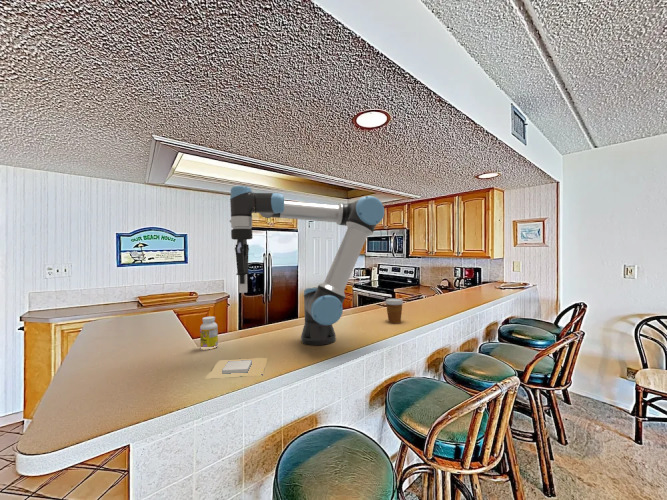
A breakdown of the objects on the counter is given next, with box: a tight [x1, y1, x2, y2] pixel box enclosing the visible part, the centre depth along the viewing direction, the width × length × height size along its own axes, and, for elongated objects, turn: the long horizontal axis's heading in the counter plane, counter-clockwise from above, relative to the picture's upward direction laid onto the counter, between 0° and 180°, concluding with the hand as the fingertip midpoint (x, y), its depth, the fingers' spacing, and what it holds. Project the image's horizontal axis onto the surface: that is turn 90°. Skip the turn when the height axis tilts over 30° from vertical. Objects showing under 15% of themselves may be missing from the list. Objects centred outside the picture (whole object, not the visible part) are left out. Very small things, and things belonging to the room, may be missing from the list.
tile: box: [222, 360, 252, 374], centre depth 100 cm, size 8×2×8 cm
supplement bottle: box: [199, 315, 219, 348], centre depth 124 cm, size 7×7×13 cm
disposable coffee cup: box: [384, 298, 404, 324], centre depth 162 cm, size 10×10×12 cm
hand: (243, 292), depth 111 cm, fingers closed
